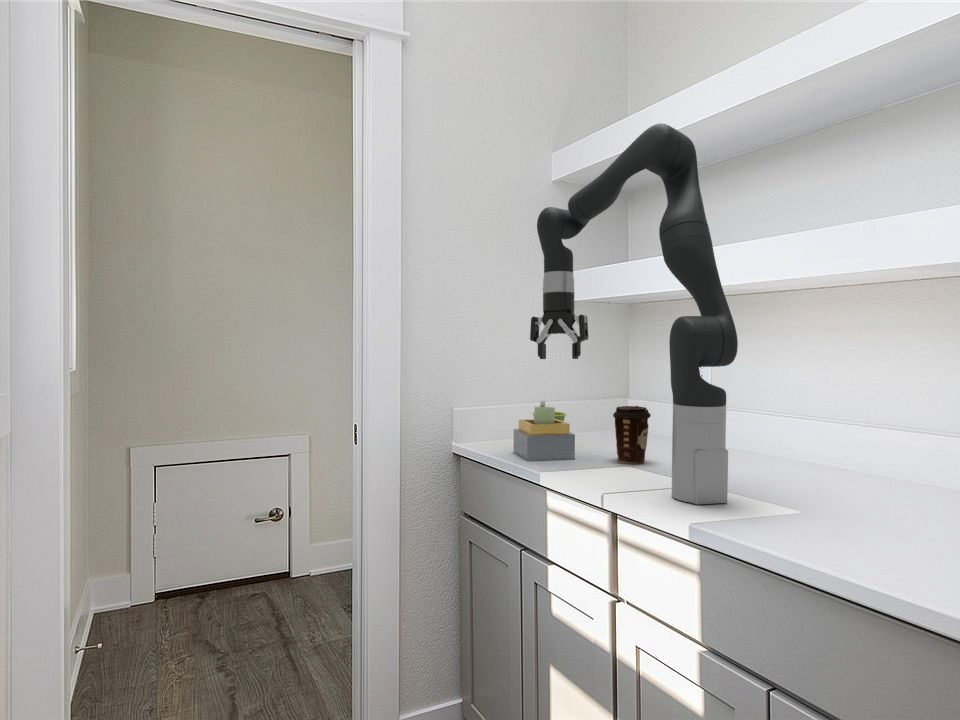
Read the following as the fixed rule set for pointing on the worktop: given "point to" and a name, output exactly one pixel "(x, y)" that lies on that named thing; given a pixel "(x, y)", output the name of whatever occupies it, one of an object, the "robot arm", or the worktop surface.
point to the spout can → (544, 414)
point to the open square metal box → (544, 441)
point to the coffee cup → (631, 433)
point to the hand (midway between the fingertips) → (558, 359)
